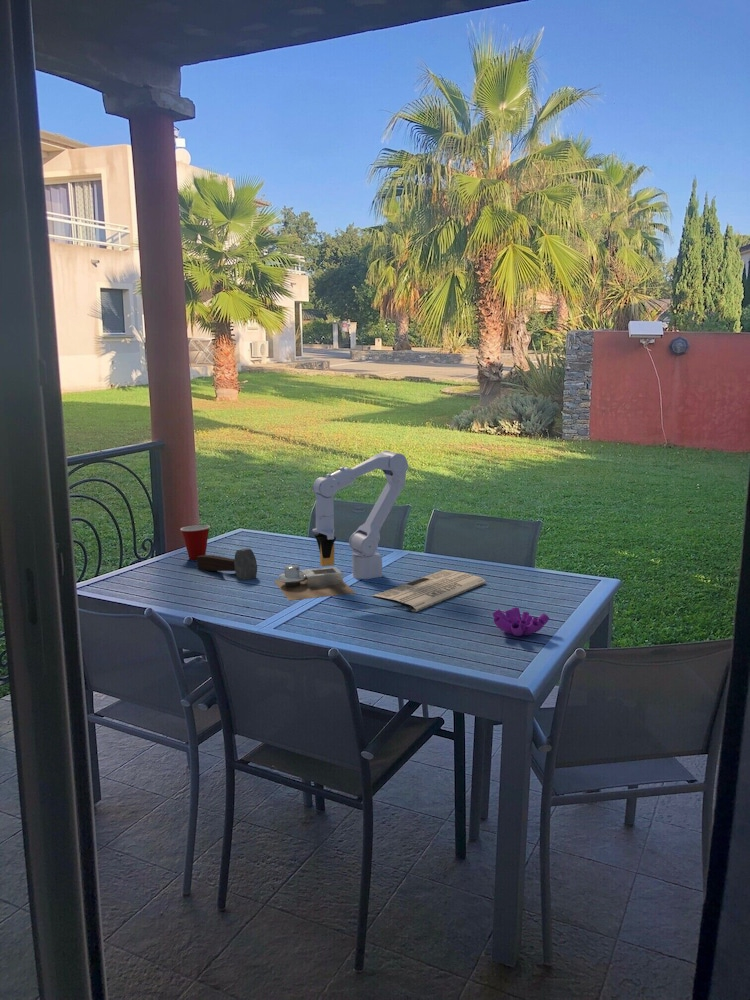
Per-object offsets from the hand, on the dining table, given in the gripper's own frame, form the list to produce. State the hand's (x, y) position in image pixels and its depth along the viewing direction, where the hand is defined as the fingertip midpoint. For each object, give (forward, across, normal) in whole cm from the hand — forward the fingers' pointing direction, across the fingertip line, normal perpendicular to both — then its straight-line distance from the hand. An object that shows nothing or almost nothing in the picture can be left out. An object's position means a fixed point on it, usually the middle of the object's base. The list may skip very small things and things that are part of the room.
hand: (325, 556), depth 252 cm
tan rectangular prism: (+3, 0, +1) cm, 3 cm away
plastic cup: (+10, -51, -35) cm, 63 cm away
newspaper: (+10, +18, +30) cm, 36 cm away
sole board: (+10, +4, -5) cm, 12 cm away
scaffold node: (+8, 0, -5) cm, 10 cm away
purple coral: (+10, +60, +37) cm, 71 cm away
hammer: (+11, -24, -29) cm, 39 cm away
